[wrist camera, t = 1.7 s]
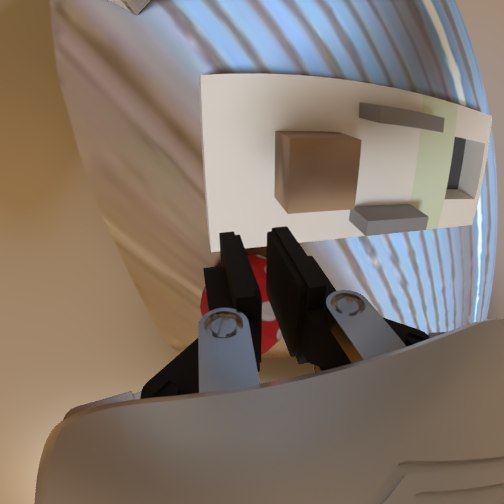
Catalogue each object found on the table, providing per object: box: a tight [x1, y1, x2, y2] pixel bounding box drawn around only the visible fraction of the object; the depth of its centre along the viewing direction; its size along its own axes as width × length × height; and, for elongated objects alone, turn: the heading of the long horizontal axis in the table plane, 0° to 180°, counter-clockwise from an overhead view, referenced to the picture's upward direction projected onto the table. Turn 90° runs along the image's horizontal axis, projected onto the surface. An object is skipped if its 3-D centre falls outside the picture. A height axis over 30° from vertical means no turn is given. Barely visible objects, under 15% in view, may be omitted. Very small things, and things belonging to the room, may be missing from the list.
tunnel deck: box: [199, 74, 492, 252], centre depth 28 cm, size 16×36×8 cm, turn 91°
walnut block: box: [274, 131, 362, 214], centre depth 24 cm, size 6×6×4 cm
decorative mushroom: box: [200, 254, 282, 354], centre depth 33 cm, size 11×11×15 cm
